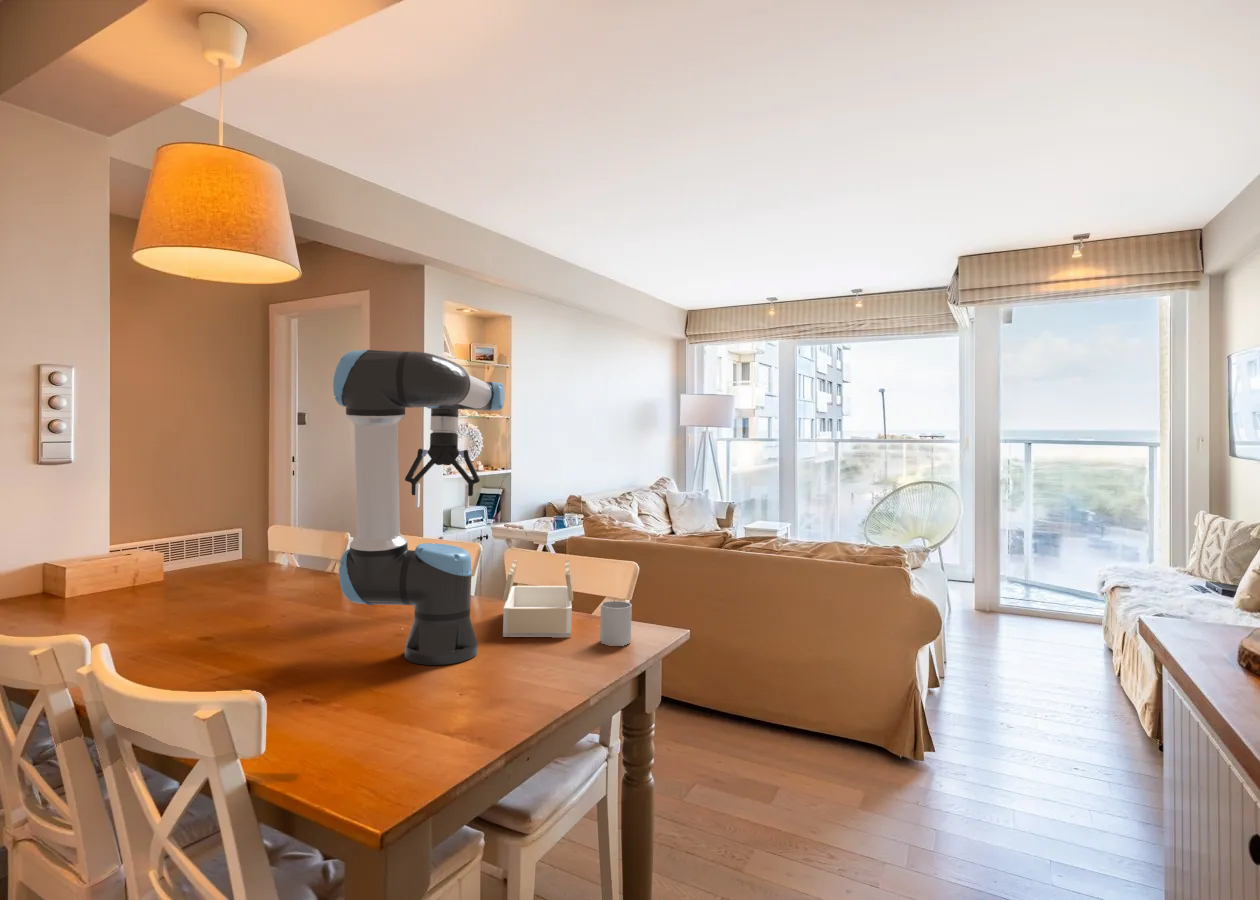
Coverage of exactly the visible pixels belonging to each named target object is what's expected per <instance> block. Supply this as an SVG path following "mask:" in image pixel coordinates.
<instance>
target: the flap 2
mask: <svg viewBox="0 0 1260 900" xmlns="http://www.w3.org/2000/svg"><path fill="white" fill-rule="evenodd" d="M564 568H565V569H564V572H565V573H564V575H565V583H566V586H567V589H568V595H569V601H571V602H572V601H574V591H573V590H574V589H573V580H572V574H571V566H570V562H569V560H565V561H564Z"/></svg>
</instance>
